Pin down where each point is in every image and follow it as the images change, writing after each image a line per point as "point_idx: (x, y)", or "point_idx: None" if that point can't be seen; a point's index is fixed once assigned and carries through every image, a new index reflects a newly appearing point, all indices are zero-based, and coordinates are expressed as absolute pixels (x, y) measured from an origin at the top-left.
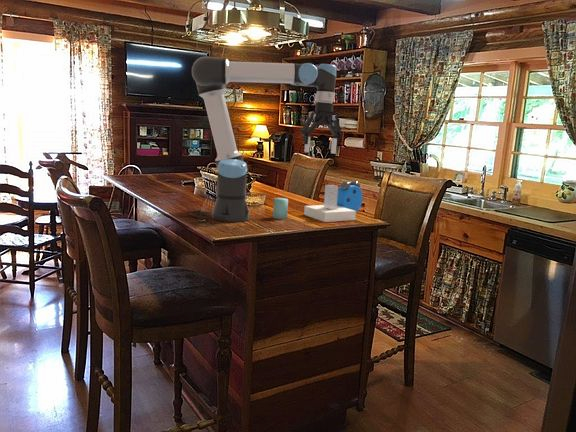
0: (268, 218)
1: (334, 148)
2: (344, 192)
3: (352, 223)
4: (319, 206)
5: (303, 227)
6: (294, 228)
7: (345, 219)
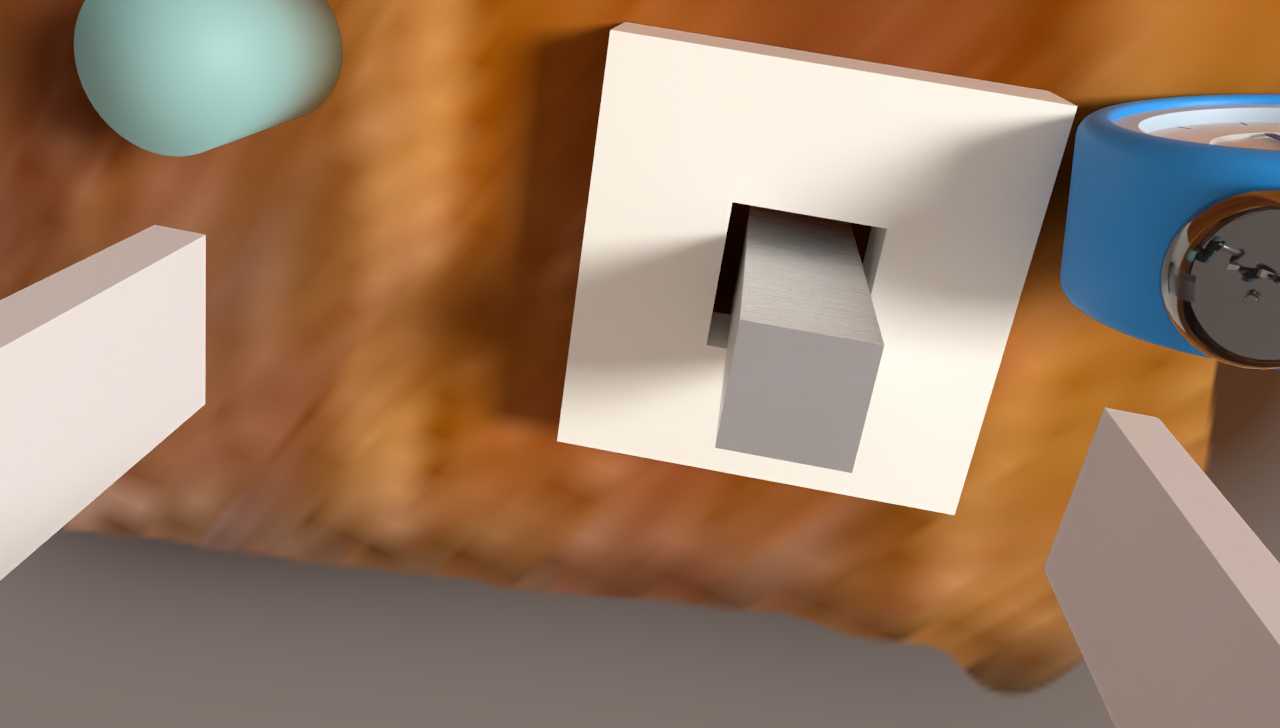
0: None
1: (1088, 657)
2: (1137, 309)
3: (784, 548)
4: (763, 142)
5: (258, 463)
6: (167, 456)
7: None
